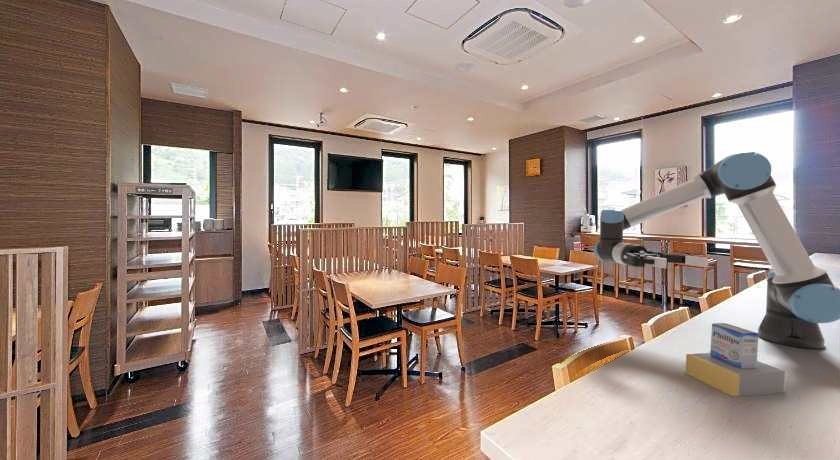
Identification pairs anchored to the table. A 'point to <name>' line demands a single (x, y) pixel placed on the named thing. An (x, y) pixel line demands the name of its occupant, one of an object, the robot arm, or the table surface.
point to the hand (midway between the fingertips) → (686, 263)
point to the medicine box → (734, 345)
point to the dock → (735, 376)
